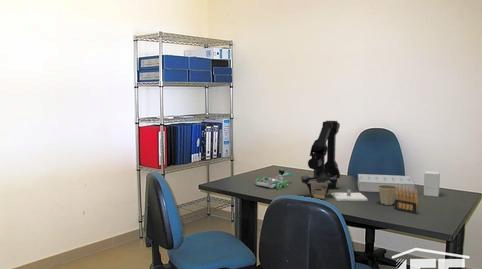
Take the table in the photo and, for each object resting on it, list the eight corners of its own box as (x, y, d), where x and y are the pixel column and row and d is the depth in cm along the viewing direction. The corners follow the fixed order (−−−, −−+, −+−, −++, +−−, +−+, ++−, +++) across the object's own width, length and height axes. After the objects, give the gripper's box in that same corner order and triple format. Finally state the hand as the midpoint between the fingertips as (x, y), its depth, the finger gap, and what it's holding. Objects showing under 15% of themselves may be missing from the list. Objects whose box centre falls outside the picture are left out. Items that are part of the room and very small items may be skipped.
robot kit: (300, 184, 257) (301, 169, 256) (275, 191, 239) (275, 175, 238) (277, 180, 270) (277, 165, 269) (251, 186, 252) (251, 171, 251)
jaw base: (331, 194, 230) (331, 187, 229) (360, 194, 230) (360, 187, 230) (336, 200, 217) (336, 193, 216) (367, 200, 217) (367, 193, 217)
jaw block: (312, 195, 228) (312, 188, 228) (321, 195, 228) (321, 188, 228) (315, 198, 221) (315, 191, 221) (324, 198, 221) (324, 191, 221)
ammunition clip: (417, 213, 194) (419, 188, 193) (416, 214, 193) (417, 188, 192) (395, 208, 202) (396, 184, 200) (394, 209, 200) (395, 185, 199)
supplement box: (439, 194, 231) (440, 171, 229) (438, 197, 224) (439, 174, 223) (424, 192, 234) (425, 170, 233) (423, 195, 228) (424, 172, 227)
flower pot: (373, 202, 214) (373, 185, 213) (388, 200, 217) (388, 184, 216) (385, 206, 205) (386, 189, 204) (400, 205, 208) (401, 188, 207)
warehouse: (358, 191, 238) (359, 178, 238) (357, 186, 252) (357, 173, 252) (414, 194, 232) (415, 181, 231) (410, 188, 246) (410, 176, 245)
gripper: (304, 169, 215) (303, 198, 217) (340, 169, 215) (339, 198, 217) (300, 165, 226) (300, 193, 228) (335, 165, 226) (334, 193, 228)
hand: (318, 194), depth 225 cm, fingers open, 8 cm apart
